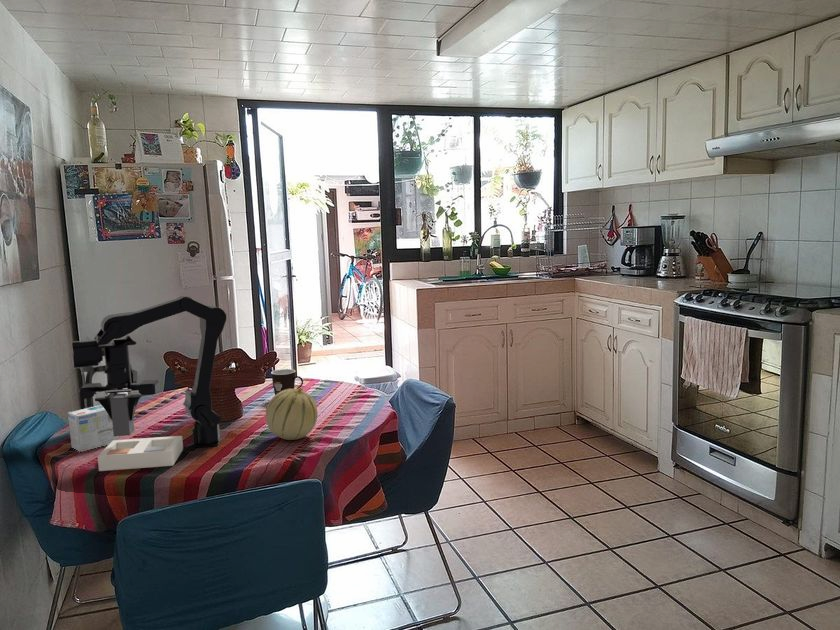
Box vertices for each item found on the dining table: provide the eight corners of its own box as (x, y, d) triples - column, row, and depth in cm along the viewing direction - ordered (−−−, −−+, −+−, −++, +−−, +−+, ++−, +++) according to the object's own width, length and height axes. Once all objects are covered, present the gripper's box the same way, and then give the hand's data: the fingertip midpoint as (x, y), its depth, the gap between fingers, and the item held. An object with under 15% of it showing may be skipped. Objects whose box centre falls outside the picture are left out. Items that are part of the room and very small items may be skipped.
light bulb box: (108, 438, 182) (105, 403, 180) (119, 442, 177) (116, 406, 176) (70, 448, 173) (66, 411, 172) (80, 453, 169) (76, 415, 168)
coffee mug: (268, 399, 221) (266, 372, 220) (288, 394, 227) (287, 368, 226) (284, 405, 213) (283, 377, 211) (305, 400, 218) (304, 373, 217)
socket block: (183, 449, 171) (182, 434, 170) (173, 465, 159) (171, 449, 158) (114, 454, 168) (113, 439, 167) (98, 471, 156) (97, 454, 156)
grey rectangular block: (134, 430, 165) (131, 392, 164) (129, 435, 161) (126, 396, 160) (118, 431, 164) (115, 393, 163) (113, 436, 161) (110, 397, 159)
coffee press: (71, 429, 190) (61, 334, 186) (124, 417, 202) (116, 327, 198) (91, 442, 178) (81, 340, 174) (146, 428, 190) (138, 333, 186)
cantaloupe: (264, 434, 183) (261, 385, 181) (313, 427, 188) (311, 379, 186) (270, 450, 169) (268, 397, 167) (323, 442, 174) (321, 391, 172)
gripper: (162, 355, 169) (167, 409, 172) (90, 358, 167) (96, 414, 169) (152, 363, 159) (157, 421, 161) (74, 367, 156) (80, 426, 158)
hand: (123, 420), depth 162 cm, fingers closed on grey rectangular block, 4 cm apart
